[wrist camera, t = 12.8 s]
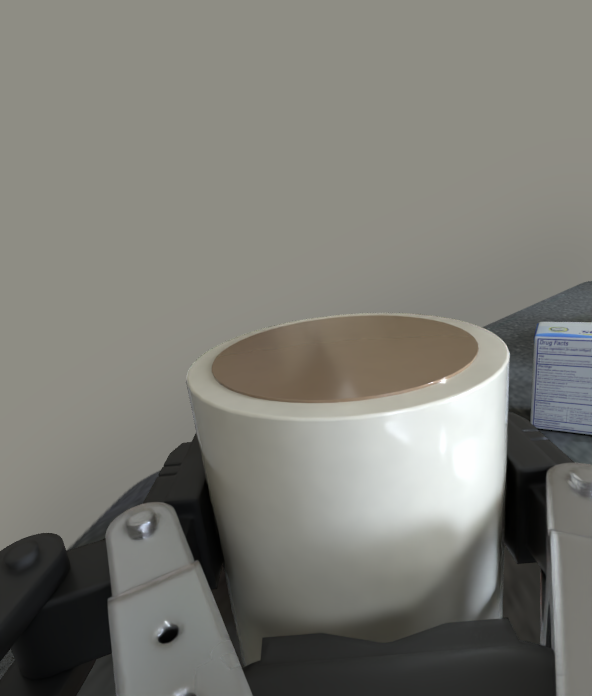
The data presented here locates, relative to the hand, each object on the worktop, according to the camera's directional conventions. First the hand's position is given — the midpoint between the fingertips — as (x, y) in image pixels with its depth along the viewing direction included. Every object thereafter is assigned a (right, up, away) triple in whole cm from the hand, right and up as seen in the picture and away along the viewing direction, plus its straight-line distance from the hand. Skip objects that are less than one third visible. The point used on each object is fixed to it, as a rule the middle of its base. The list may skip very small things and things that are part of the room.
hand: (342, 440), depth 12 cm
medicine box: (+24, -4, +26) cm, 35 cm away
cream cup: (+1, -6, -1) cm, 6 cm away
